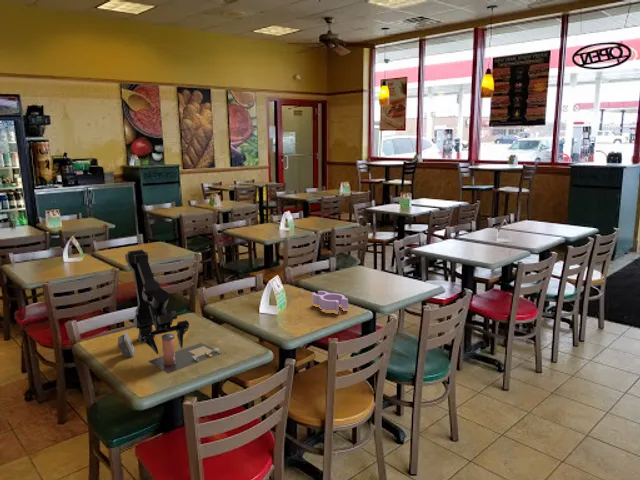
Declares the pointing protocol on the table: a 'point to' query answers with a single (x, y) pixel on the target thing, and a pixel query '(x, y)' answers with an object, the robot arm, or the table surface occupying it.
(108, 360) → the table surface
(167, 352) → the post
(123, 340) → the electrical switch
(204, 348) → the breaker panel
